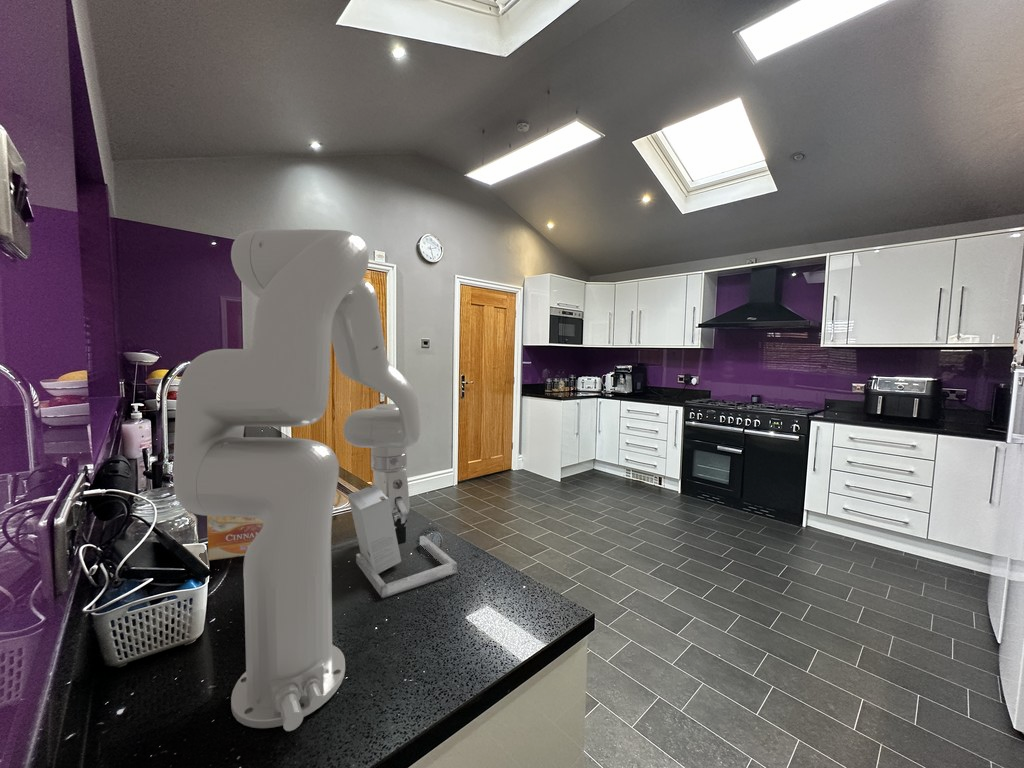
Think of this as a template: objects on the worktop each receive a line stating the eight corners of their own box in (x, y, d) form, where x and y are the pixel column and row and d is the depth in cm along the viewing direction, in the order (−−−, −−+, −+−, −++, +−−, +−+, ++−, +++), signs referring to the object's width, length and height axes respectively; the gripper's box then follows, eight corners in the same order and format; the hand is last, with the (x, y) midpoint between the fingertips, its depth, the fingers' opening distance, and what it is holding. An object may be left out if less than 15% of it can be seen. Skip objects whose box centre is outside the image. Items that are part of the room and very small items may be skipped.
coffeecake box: (207, 565, 80) (204, 470, 79) (216, 549, 87) (214, 461, 85) (292, 552, 86) (290, 463, 85) (295, 538, 93) (293, 455, 91)
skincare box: (361, 558, 84) (344, 494, 80) (389, 544, 87) (374, 482, 84) (375, 577, 77) (357, 509, 74) (404, 561, 81) (389, 495, 77)
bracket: (456, 572, 79) (457, 563, 79) (382, 599, 70) (382, 588, 70) (423, 543, 91) (423, 535, 91) (356, 563, 82) (356, 554, 82)
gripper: (422, 467, 83) (422, 546, 85) (391, 449, 97) (391, 517, 99) (386, 474, 79) (387, 557, 81) (359, 454, 92) (360, 525, 94)
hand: (389, 535), depth 90 cm, fingers open, 9 cm apart
